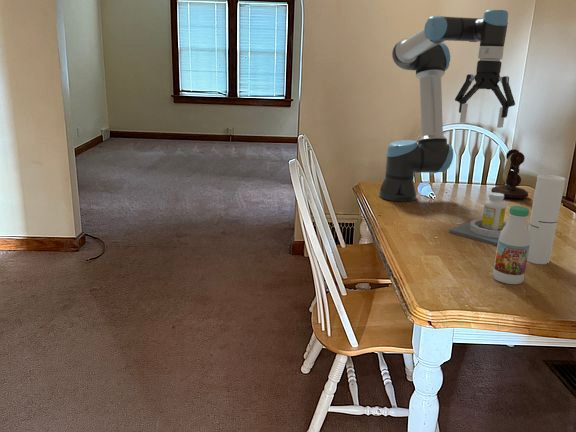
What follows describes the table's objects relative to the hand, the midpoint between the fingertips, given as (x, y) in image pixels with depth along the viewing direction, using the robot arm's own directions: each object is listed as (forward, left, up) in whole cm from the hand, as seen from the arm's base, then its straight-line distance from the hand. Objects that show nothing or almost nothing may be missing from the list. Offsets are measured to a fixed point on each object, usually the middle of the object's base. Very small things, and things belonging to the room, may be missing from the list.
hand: (480, 125), depth 179 cm
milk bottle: (+33, -39, -35) cm, 62 cm away
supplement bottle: (+12, -6, -34) cm, 36 cm away
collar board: (+12, -6, -35) cm, 37 cm away
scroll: (-7, +49, -35) cm, 61 cm away
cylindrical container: (+32, -18, -35) cm, 51 cm away
